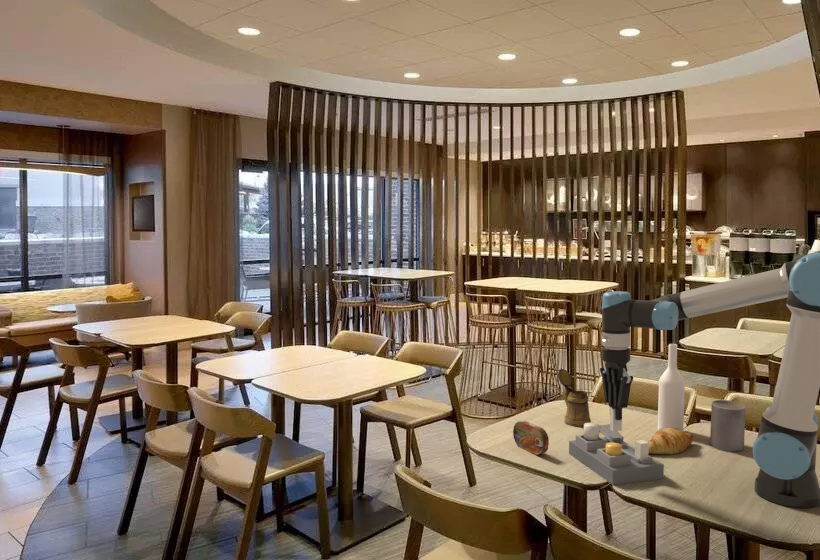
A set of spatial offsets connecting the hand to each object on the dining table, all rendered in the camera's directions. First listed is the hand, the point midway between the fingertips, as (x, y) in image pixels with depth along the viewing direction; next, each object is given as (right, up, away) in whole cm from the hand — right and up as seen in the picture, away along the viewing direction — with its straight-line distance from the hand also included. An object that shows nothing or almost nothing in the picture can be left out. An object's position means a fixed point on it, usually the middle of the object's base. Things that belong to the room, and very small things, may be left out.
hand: (615, 430), depth 177 cm
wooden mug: (+1, -9, +49) cm, 50 cm away
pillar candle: (+43, -11, +23) cm, 50 cm away
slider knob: (+8, -9, +2) cm, 12 cm away
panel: (+2, -12, +8) cm, 15 cm away
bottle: (+31, -10, +37) cm, 49 cm away
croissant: (+23, -11, +22) cm, 34 cm away
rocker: (+4, -5, +16) cm, 18 cm away
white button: (-3, -5, +13) cm, 14 cm away
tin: (-20, -12, +21) cm, 31 cm away
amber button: (0, -8, +1) cm, 9 cm away
